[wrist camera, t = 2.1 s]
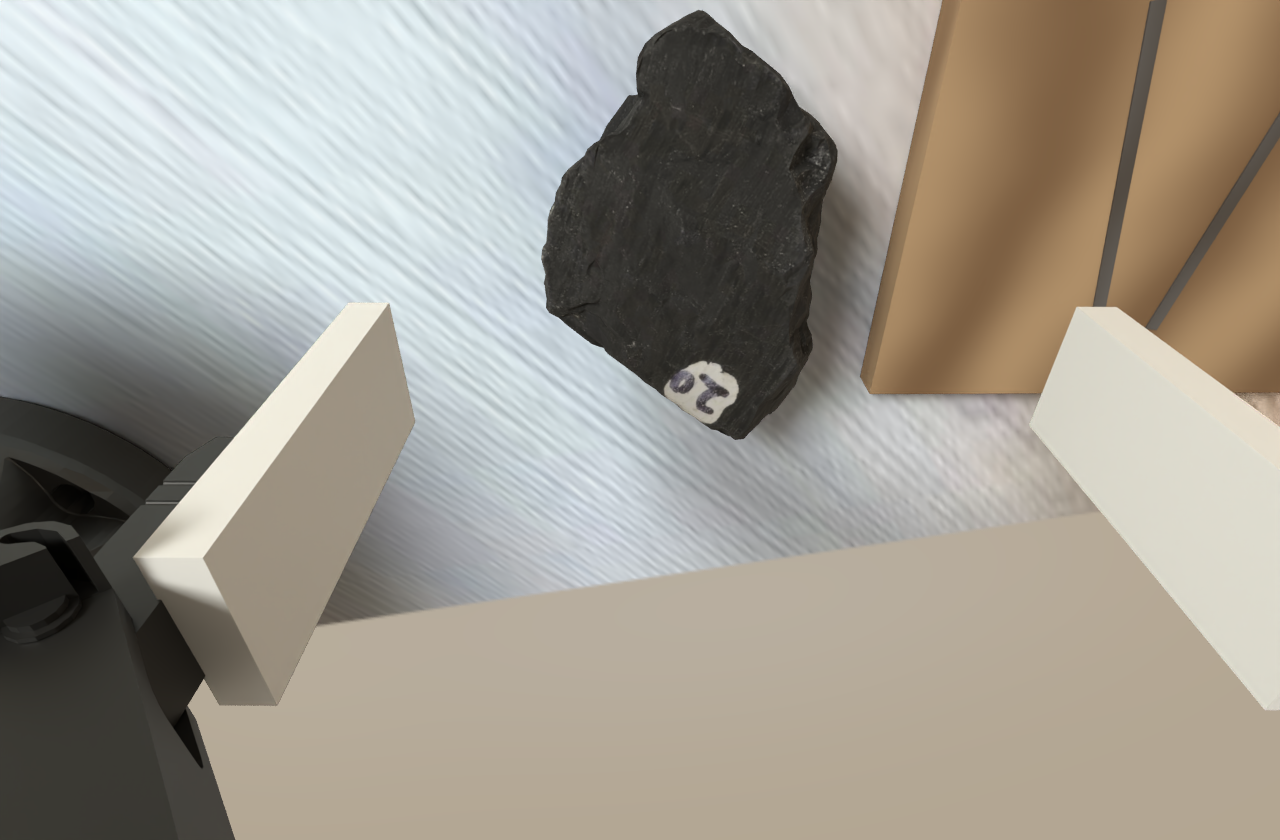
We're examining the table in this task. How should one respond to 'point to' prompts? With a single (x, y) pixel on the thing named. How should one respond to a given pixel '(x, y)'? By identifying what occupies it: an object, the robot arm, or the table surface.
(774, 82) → the rock
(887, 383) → the board
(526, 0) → the table surface
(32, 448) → the robot arm
